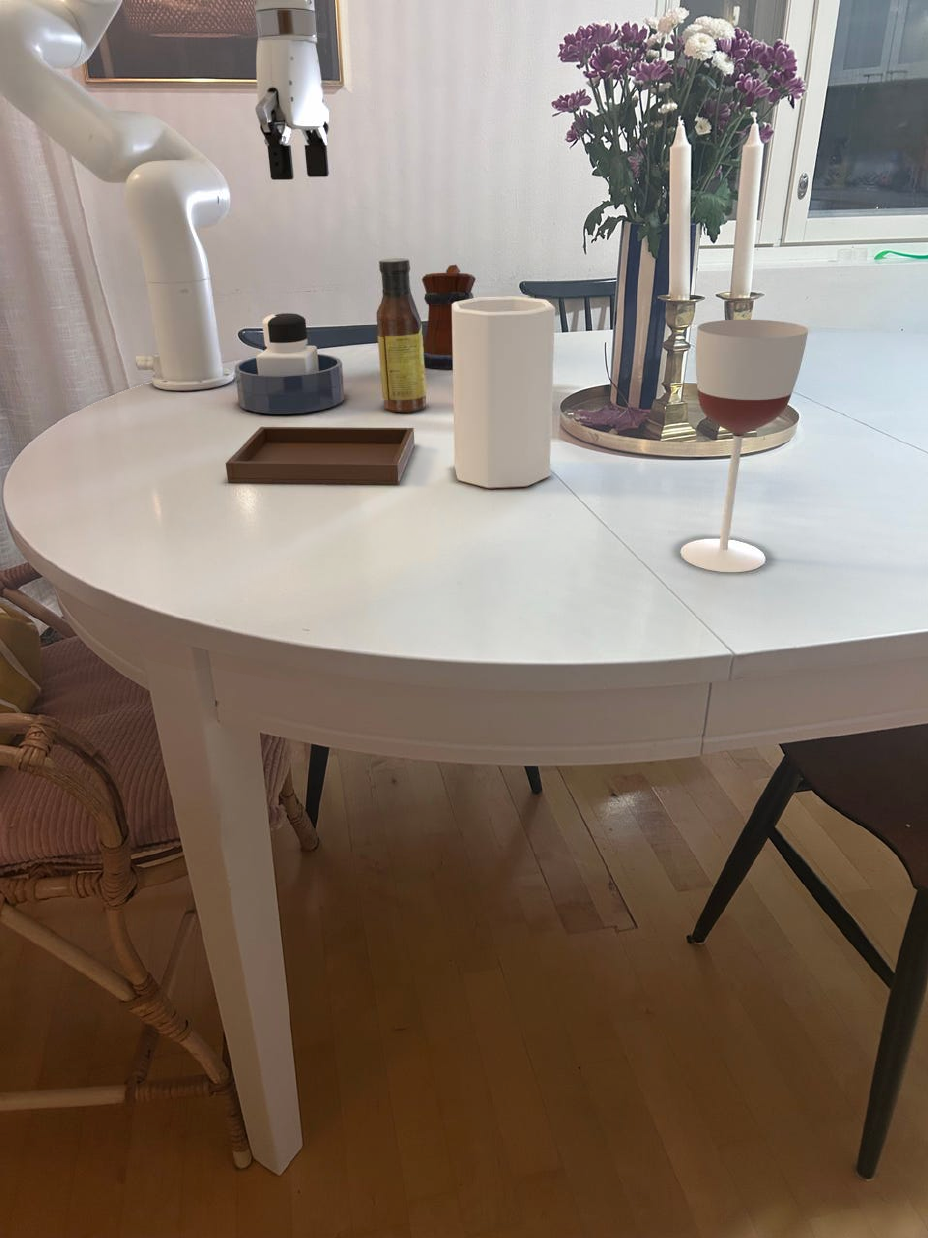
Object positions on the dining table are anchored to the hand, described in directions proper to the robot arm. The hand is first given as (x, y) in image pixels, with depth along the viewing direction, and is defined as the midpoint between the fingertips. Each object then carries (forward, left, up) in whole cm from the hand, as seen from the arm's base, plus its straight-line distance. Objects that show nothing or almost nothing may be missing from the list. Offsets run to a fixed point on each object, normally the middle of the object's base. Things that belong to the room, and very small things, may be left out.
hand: (300, 177), depth 124 cm
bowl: (-3, -6, -29) cm, 30 cm away
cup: (+29, -37, -30) cm, 56 cm away
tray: (+8, -34, -29) cm, 46 cm away
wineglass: (+50, -59, -30) cm, 83 cm away
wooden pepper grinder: (+18, +24, -30) cm, 42 cm away
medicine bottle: (-3, -6, -29) cm, 30 cm away
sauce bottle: (+14, -9, -30) cm, 34 cm away
